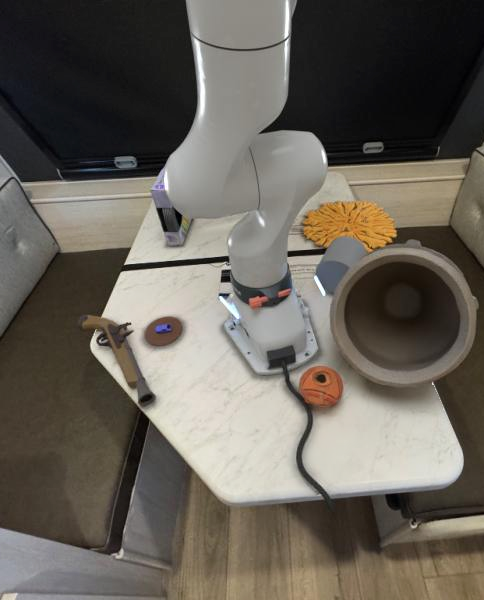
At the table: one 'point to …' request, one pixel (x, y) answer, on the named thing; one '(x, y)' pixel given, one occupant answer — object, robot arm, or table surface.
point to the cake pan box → (169, 214)
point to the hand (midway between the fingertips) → (241, 22)
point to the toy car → (163, 331)
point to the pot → (321, 386)
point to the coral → (350, 224)
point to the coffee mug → (338, 261)
